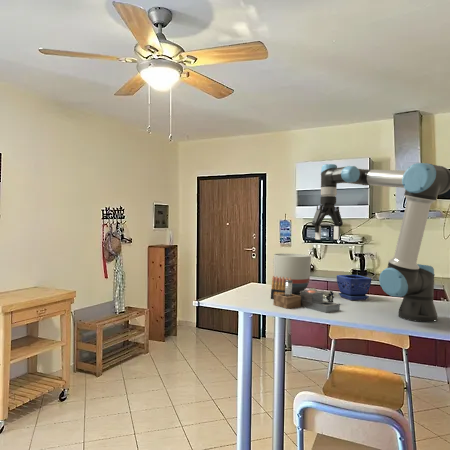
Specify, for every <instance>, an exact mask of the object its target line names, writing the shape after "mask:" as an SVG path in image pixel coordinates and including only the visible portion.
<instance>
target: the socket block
mask: <svg viewBox="0 0 450 450" xmlns="http://www.w3.org/2000/svg"><path fill="white" fill-rule="evenodd" d="M308 290H309V289H305V290H304V291H300V293H299V296H301V307H302V308H306V309H310V310H314V311H317V312H320V313H325V314H327V313H328V314H329V313H333V312H334V313H336V312H340V305H341V304H340V303H337V302H328V301H327V300H325V299H323V295H324V292H323V291H318V290H316V291H315V290H313V291H315V293H310V292H308Z"/></svg>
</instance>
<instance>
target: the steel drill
mask: <svg viewBox="0 0 450 450" xmlns="http://www.w3.org/2000/svg"><path fill="white" fill-rule="evenodd" d="M285 296H286V297H289V296H292V280H285Z"/></svg>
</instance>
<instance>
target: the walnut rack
mask: <svg viewBox="0 0 450 450" xmlns="http://www.w3.org/2000/svg"><path fill="white" fill-rule="evenodd" d="M272 305H273V306H275V307H280V308H282V309H283V308H284V309H287V310H288V309H293V308H300V307H301V296H300V295H298V294H292V296H289V297H286V296H285V293H283V294H274V299H273V303H272Z"/></svg>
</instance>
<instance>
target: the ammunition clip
mask: <svg viewBox="0 0 450 450" xmlns="http://www.w3.org/2000/svg"><path fill="white" fill-rule="evenodd" d="M286 280H288V278H287V277H286ZM289 280H291V278H289ZM281 286H282V288H281ZM283 293H285V282H284V276H283V279H282V285H281V277H279V284H278V277H277V276H276V281H275V279H274V275H272V279H271V290H270V300H274V294H283Z"/></svg>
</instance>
